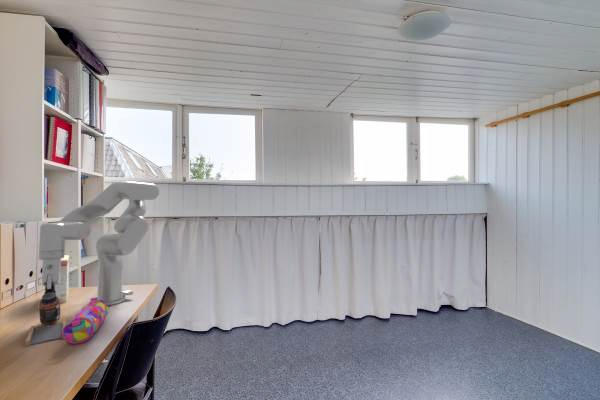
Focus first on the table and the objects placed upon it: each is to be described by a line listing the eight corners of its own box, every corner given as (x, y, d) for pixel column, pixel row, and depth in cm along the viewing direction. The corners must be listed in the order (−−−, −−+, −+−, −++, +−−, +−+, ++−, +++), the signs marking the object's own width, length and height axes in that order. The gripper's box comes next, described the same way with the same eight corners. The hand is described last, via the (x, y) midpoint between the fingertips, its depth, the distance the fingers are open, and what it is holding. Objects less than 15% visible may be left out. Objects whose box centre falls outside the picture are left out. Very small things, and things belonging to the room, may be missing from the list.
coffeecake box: (50, 295, 139) (51, 255, 139) (68, 293, 143) (69, 254, 143) (46, 305, 127) (47, 261, 127) (66, 302, 131) (67, 259, 131)
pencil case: (80, 321, 111) (80, 298, 111) (108, 318, 114) (109, 295, 115) (60, 348, 91) (61, 320, 91) (95, 342, 95) (96, 315, 95)
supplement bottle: (64, 318, 111) (63, 294, 107) (46, 327, 106) (44, 303, 102) (54, 311, 113) (53, 288, 109) (36, 320, 107) (34, 296, 104)
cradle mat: (66, 323, 108) (66, 319, 108) (65, 337, 97) (65, 333, 97) (30, 330, 102) (30, 326, 102) (25, 346, 91) (25, 341, 91)
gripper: (63, 256, 107) (60, 305, 107) (65, 251, 119) (63, 295, 118) (36, 258, 102) (33, 309, 102) (41, 252, 114) (39, 298, 114)
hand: (49, 301), depth 110 cm, fingers closed
